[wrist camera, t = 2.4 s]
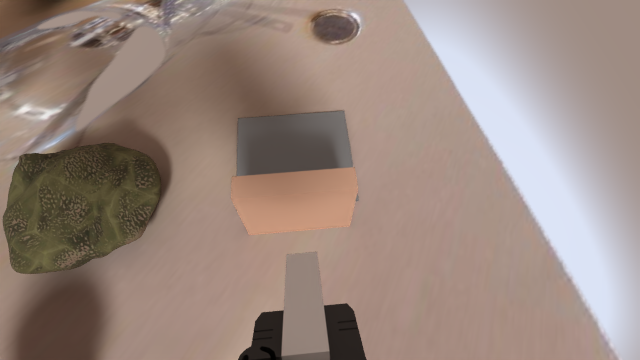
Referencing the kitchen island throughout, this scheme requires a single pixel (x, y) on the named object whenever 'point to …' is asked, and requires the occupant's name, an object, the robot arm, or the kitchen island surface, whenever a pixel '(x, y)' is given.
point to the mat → (293, 143)
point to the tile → (295, 200)
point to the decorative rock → (77, 205)
